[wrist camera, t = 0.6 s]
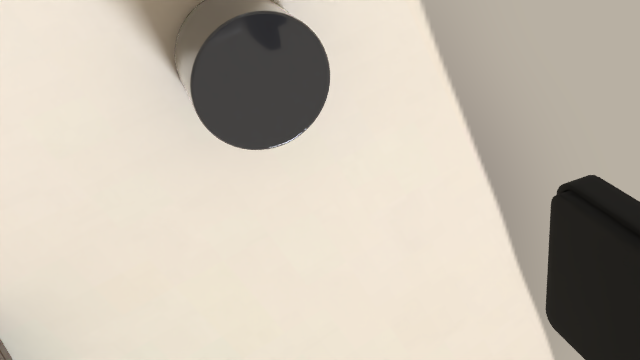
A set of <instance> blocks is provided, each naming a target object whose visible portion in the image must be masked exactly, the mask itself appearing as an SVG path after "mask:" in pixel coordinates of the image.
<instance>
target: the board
mask: <svg viewBox="0 0 640 360" xmlns="http://www.w3.org/2000/svg"><path fill="white" fill-rule="evenodd" d="M0 360H12V358H11V356H10V355H9V353H8V351H7V350H6V348H5V346H4V345H3V343H2V341H1V340H0Z"/></svg>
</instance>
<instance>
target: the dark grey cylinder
mask: <svg viewBox="0 0 640 360" xmlns="http://www.w3.org/2000/svg"><path fill="white" fill-rule="evenodd" d="M175 62H176V68H177V72H178V75H179V77H180V80H181V82H182V84H183V86H184V88H185V90H186V92H187V94H188V97H189V99H190V101H191V103H192V105H193V107H194V109H195V111H196V113H197V115H198V117H199V119H200V120H201V122H202V123H203V124H204V126H205V127H206V128H207V129H208V130H209V131H210V132H211V133H212V134H213V135H214V136H216V137H217V138H218V139H220V140H222V141H223V142H225V143H227V144H229V145H232V146H234V147H238V148H242V149H249V150H263V149H270V148H274V147H278V146H281V145H283V144H286V143H288V142H290V141H292V140H294V139H295V138H296V137H298V136H299V135H301V134H302V133H303V132H304V131H306V130H307V129H308V128H309V127H310V125H311V124H312V123H313V122H314V121H315V119H316V118H317V117H318V115H319V114H320V112H321V110H322V108H323V106H324V103H325V101H326V98H327V95H328V91H329V84H330V68H329V62H328V58H327V54H326V52H325V49H324V47H323V45H322V43H321V41H320V40H319V38H318V37H317V36H316V34H315V33H314V32H313V31H312V30H311V29H310V28H309V27H308V26H307V25H306V24H304V23H303V22H302V21H300V20H299V19H297V18H296V17H294V16H293V15H291V14H290V13H288V12H287V11H286V10H284V9H283V8H281V7H280V6H278V5H277V4H275V3H274V2H272V1H271V0H205V1H203V2H202V3H200V4H199V5H198V6H197V7H196V8H194V9H193V10H192V12H191V13H190V14H189V15H188V16H187V18H186V19H185V21H184V22H183V24H182V26H181V28H180V31H179V33H178V37H177V40H176V46H175Z"/></svg>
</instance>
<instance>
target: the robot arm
mask: <svg viewBox="0 0 640 360" xmlns="http://www.w3.org/2000/svg"><path fill="white" fill-rule="evenodd" d="M546 314H547V317H548V320H549V322H550V324H551V325H552V327H553V328H554V329H555V330H556V331H557V332H558V333H559V334H560V335H561V336H562V337H563V338H564V339H565V340H566V341H567V342H568V343H569V344H570V345H571V346H572V347H573V348H574V349H575V350H576V351H577V352H578V353H579V354H580V355H581V356H582V357H583V358H584V359H585V360H640V202H639V201H637V200H636V199H634V198H632V197H631V196H629V195H627V194H626V193H624V192H622V191H621V190H619V189H618V188H616V187H614V186H613V185H611V184H609V183H608V182H606V181H604V180H603V179H601V178H600V177H597V176H595V175H588V176H586V177H583V178H580V179H577V180H574V181H571V182H568V183H565V184H563V185H561V186H560V187H559V189H558V190H557V195H556V196H554V197H553V199H552V202H551V216H550V235H549V256H548V275H547V295H546Z"/></svg>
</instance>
